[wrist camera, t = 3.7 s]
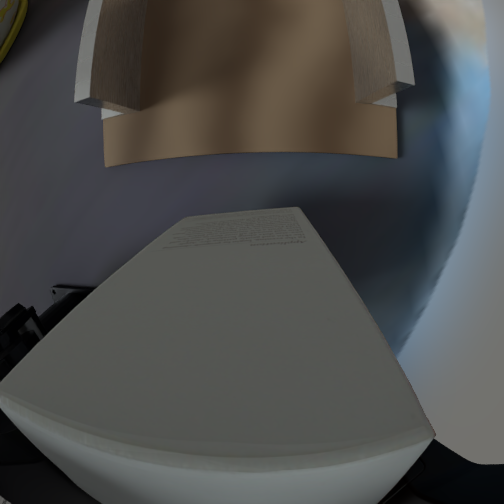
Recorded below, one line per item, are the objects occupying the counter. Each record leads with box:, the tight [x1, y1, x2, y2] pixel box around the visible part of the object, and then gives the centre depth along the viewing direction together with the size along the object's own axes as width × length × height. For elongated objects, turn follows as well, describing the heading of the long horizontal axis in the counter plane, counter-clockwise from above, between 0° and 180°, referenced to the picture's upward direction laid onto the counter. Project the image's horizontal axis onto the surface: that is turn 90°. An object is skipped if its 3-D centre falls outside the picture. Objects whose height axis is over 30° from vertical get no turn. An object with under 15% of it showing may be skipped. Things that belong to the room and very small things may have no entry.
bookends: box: [74, 0, 415, 120], centre depth 10 cm, size 20×10×6 cm, turn 92°
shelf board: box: [103, 0, 397, 167], centre depth 13 cm, size 20×17×1 cm
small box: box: [0, 207, 436, 504], centre depth 9 cm, size 8×6×13 cm
